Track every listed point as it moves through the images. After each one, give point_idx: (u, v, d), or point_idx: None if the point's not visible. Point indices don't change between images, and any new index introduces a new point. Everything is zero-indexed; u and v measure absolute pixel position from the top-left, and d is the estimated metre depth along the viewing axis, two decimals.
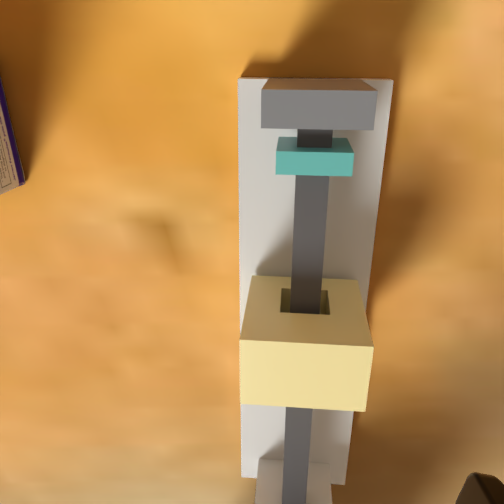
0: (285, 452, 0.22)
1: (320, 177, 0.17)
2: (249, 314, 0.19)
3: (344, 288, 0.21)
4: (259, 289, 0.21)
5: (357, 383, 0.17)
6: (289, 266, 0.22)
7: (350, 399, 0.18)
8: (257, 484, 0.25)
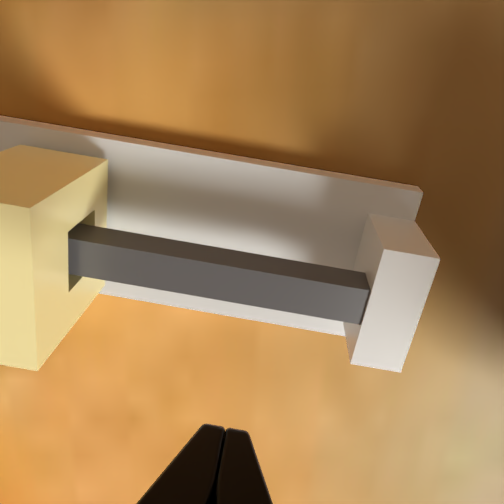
0: (235, 300, 0.14)
1: None
2: None
3: None
4: None
5: None
6: None
7: (8, 228, 0.11)
8: (346, 337, 0.16)
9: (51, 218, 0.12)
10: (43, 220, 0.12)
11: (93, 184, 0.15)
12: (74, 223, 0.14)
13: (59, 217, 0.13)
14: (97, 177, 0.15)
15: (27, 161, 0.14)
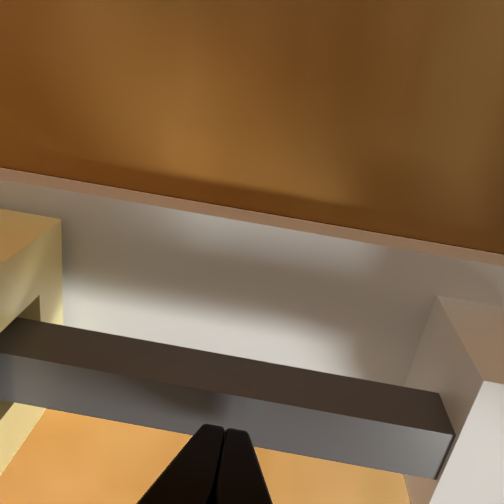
0: None
1: None
2: None
3: None
4: None
5: None
6: None
7: None
8: (404, 473, 0.11)
9: None
10: None
11: (35, 261, 0.10)
12: None
13: None
14: (41, 249, 0.10)
15: None
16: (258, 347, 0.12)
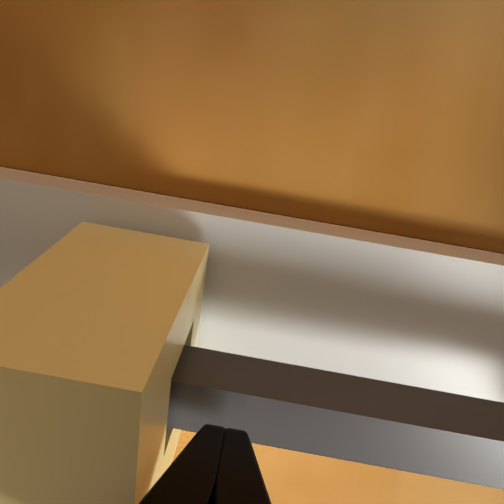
0: (445, 475, 0.09)
1: None
2: None
3: None
4: None
5: (43, 399, 0.06)
6: None
7: (100, 419, 0.06)
8: None
9: (160, 379, 0.07)
10: (153, 392, 0.07)
11: (196, 287, 0.10)
12: (177, 359, 0.09)
13: (166, 368, 0.08)
14: (199, 275, 0.10)
15: (103, 260, 0.09)
16: (414, 373, 0.12)
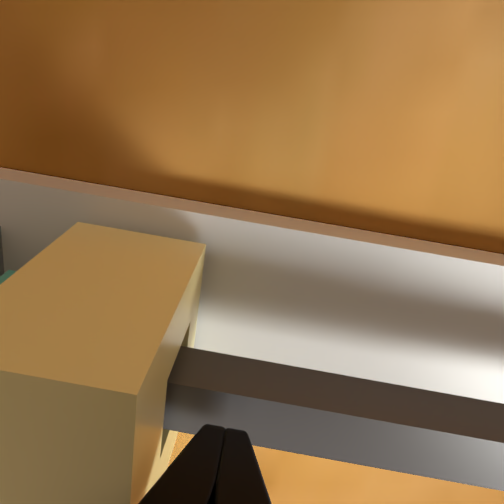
0: None
1: None
2: None
3: None
4: None
5: (37, 402, 0.06)
6: (266, 359, 0.12)
7: (94, 422, 0.06)
8: None
9: (155, 381, 0.07)
10: (148, 394, 0.07)
11: (192, 288, 0.10)
12: (173, 361, 0.09)
13: (162, 370, 0.08)
14: (196, 276, 0.10)
15: (98, 260, 0.09)
16: None
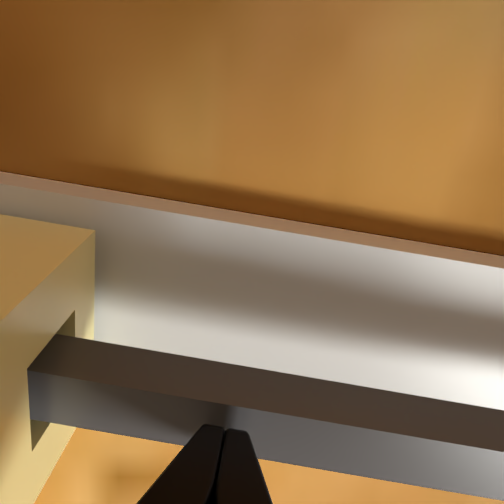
0: None
1: None
2: None
3: None
4: None
5: None
6: (171, 349, 0.12)
7: None
8: None
9: None
10: None
11: (72, 275, 0.10)
12: (38, 349, 0.09)
13: (8, 357, 0.07)
14: (77, 263, 0.10)
15: None
16: (502, 394, 0.12)
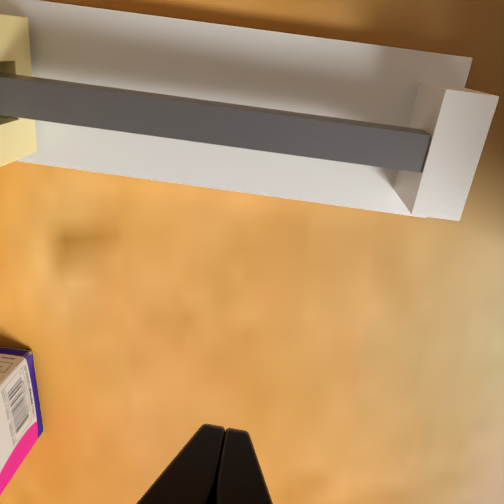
0: (303, 154, 0.15)
1: None
2: None
3: None
4: None
5: None
6: None
7: None
8: (403, 200, 0.17)
9: None
10: None
11: (10, 32, 0.16)
12: None
13: None
14: (14, 27, 0.16)
15: None
16: None
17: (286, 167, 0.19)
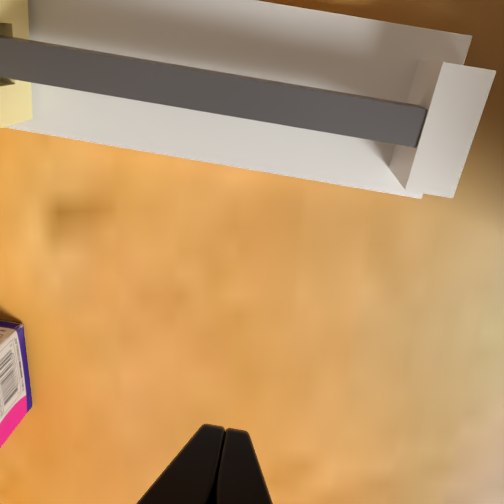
0: (298, 125, 0.15)
1: None
2: None
3: None
4: None
5: None
6: None
7: None
8: (397, 177, 0.17)
9: None
10: None
11: None
12: None
13: None
14: None
15: None
16: None
17: (282, 143, 0.18)
